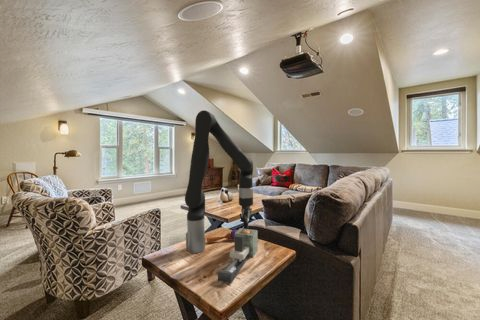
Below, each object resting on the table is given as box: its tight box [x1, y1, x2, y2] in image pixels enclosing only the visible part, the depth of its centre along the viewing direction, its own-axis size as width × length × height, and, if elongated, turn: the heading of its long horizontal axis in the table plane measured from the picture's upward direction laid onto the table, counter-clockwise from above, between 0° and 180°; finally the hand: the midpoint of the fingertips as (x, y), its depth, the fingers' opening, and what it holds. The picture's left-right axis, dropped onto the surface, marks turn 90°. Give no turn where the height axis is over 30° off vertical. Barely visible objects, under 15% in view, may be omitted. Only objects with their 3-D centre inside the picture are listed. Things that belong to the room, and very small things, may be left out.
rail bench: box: [217, 227, 259, 284], centre depth 104 cm, size 32×10×11 cm, turn 159°
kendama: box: [206, 229, 239, 244], centre depth 130 cm, size 6×6×20 cm
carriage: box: [229, 234, 249, 262], centre depth 105 cm, size 8×7×11 cm
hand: (246, 228), depth 114 cm, fingers closed
